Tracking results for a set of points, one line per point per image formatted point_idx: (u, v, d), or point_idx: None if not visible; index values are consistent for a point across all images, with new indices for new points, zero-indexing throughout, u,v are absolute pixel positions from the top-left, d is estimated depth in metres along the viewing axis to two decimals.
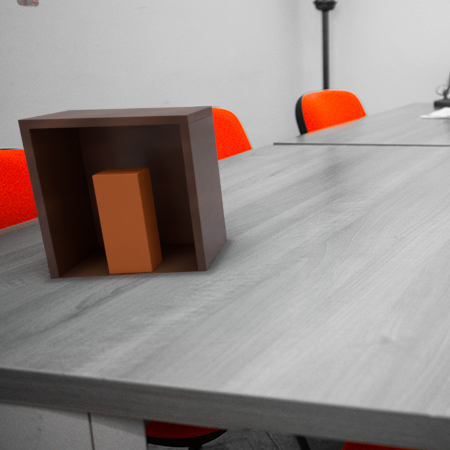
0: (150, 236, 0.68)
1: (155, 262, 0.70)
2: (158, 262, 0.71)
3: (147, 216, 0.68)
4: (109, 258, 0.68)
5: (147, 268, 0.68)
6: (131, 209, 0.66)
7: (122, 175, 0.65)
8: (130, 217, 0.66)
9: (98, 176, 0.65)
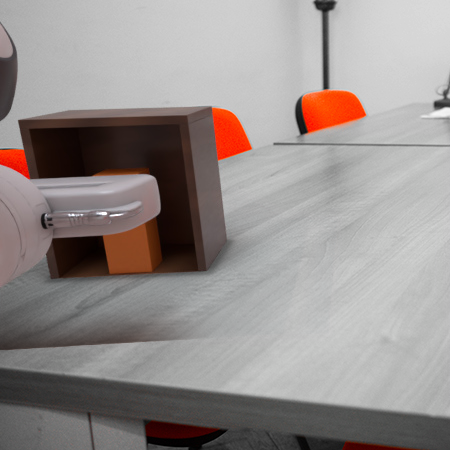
0: (150, 236, 0.68)
1: (155, 262, 0.70)
2: (158, 262, 0.71)
3: None
4: (109, 258, 0.68)
5: (147, 268, 0.68)
6: None
7: None
8: None
9: None
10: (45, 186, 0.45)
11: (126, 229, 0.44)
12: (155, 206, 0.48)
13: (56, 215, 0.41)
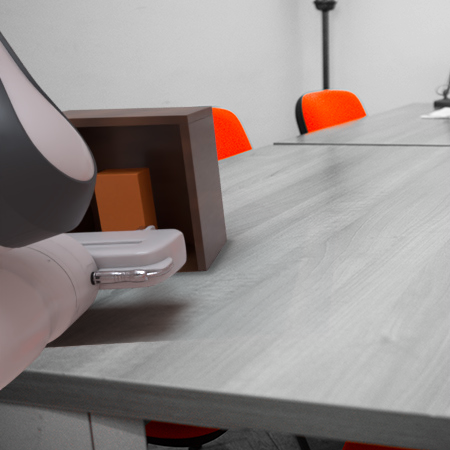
0: None
1: None
2: None
3: (147, 216, 0.68)
4: None
5: None
6: (131, 209, 0.66)
7: (122, 175, 0.65)
8: (130, 217, 0.66)
9: (98, 176, 0.65)
10: (90, 243, 0.53)
11: (159, 282, 0.52)
12: (182, 258, 0.57)
13: (103, 274, 0.49)
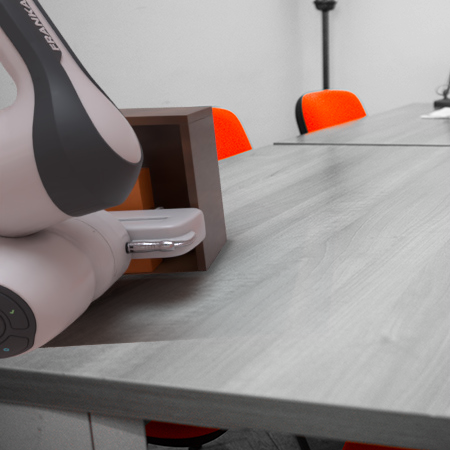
0: None
1: (155, 262, 0.70)
2: (158, 262, 0.71)
3: None
4: None
5: (147, 268, 0.68)
6: (131, 209, 0.66)
7: None
8: None
9: None
10: (122, 219, 0.61)
11: (183, 253, 0.60)
12: (202, 233, 0.64)
13: (136, 244, 0.57)
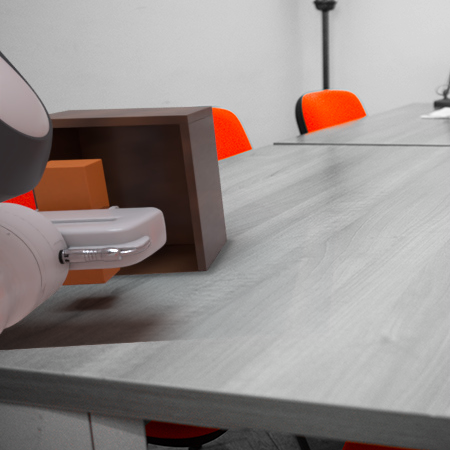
0: None
1: (110, 272, 0.59)
2: (114, 272, 0.60)
3: None
4: None
5: (99, 279, 0.57)
6: (77, 209, 0.55)
7: (66, 167, 0.54)
8: None
9: None
10: (61, 221, 0.50)
11: (135, 262, 0.49)
12: (161, 237, 0.53)
13: (72, 252, 0.46)
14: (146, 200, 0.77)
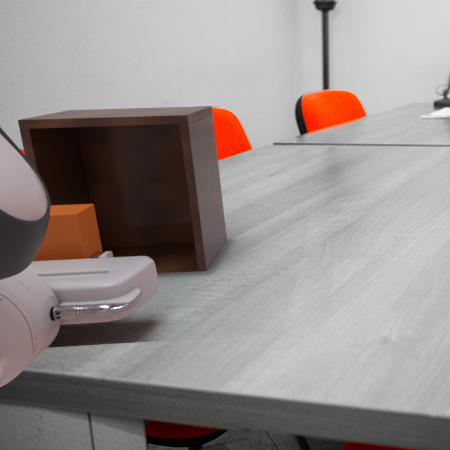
0: None
1: None
2: None
3: None
4: None
5: None
6: (70, 255, 0.55)
7: (58, 215, 0.54)
8: None
9: None
10: (53, 273, 0.50)
11: (126, 315, 0.49)
12: (153, 287, 0.53)
13: (63, 309, 0.46)
14: (146, 200, 0.77)
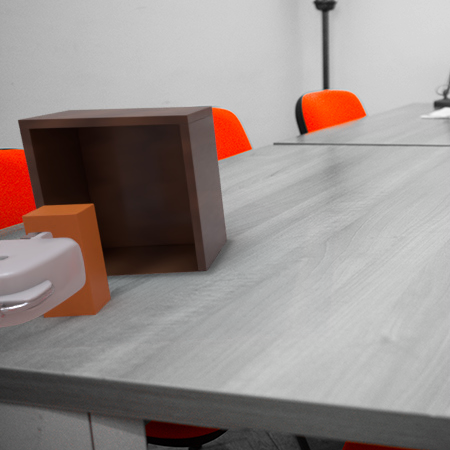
0: (95, 285, 0.58)
1: None
2: None
3: (91, 262, 0.57)
4: (46, 312, 0.57)
5: None
6: None
7: (58, 215, 0.54)
8: None
9: (29, 217, 0.54)
10: None
11: (30, 318, 0.35)
12: (77, 279, 0.39)
13: None
14: (146, 200, 0.77)
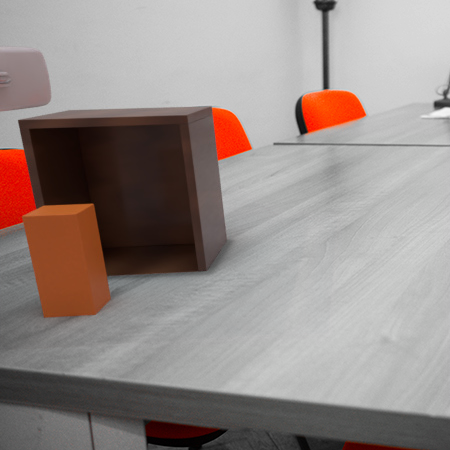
0: (95, 285, 0.58)
1: None
2: None
3: (91, 262, 0.57)
4: (46, 312, 0.57)
5: None
6: (70, 255, 0.55)
7: (58, 215, 0.54)
8: (70, 264, 0.56)
9: (29, 217, 0.54)
10: None
11: None
12: (40, 90, 0.35)
13: None
14: (146, 200, 0.77)
